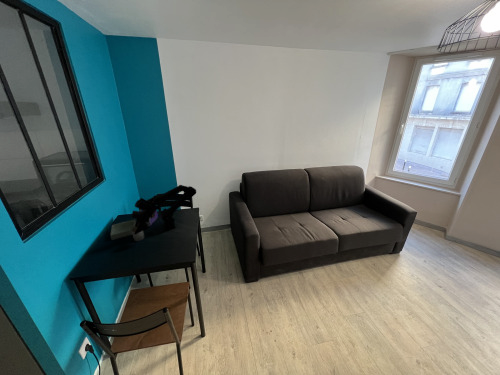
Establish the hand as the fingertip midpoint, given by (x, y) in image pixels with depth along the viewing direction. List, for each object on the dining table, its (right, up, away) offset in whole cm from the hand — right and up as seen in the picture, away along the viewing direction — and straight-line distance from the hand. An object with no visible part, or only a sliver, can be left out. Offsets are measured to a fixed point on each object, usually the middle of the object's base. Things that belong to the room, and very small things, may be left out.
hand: (134, 230), depth 129 cm
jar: (+1, -6, +3) cm, 7 cm away
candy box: (-1, +2, +23) cm, 24 cm away
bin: (-14, -3, +11) cm, 18 cm away
